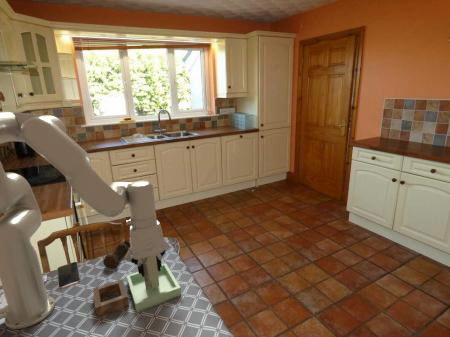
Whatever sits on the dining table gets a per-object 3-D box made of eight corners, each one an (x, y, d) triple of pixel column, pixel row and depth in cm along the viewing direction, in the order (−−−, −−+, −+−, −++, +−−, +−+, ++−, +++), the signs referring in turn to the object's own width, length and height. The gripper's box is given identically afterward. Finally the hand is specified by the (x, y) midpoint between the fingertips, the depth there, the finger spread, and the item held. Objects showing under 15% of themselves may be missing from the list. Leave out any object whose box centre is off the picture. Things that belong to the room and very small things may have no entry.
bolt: (129, 251, 120) (112, 271, 106) (119, 246, 120) (101, 265, 106) (135, 241, 119) (118, 259, 104) (124, 235, 119) (106, 253, 104)
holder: (97, 318, 81) (95, 307, 80) (94, 297, 90) (93, 288, 89) (129, 306, 85) (127, 296, 84) (123, 287, 94) (122, 278, 93)
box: (144, 281, 94) (139, 247, 90) (157, 277, 95) (153, 244, 92) (146, 291, 89) (141, 255, 86) (160, 287, 90) (155, 251, 87)
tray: (136, 312, 83) (135, 304, 82) (127, 283, 96) (126, 275, 96) (181, 295, 89) (180, 287, 88) (166, 270, 103) (165, 262, 102)
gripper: (117, 232, 79) (125, 287, 84) (174, 218, 87) (178, 269, 92) (113, 222, 86) (121, 274, 90) (167, 210, 93) (171, 258, 98)
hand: (150, 271), depth 91 cm, fingers closed on box, 4 cm apart
